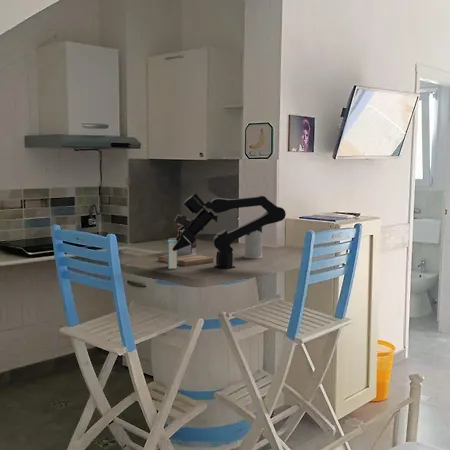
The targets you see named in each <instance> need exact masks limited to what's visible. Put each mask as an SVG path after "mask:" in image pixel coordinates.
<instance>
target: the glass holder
mask: <svg viewBox="0 0 450 450" xmlns="http://www.w3.org/2000/svg"><path fill="white" fill-rule="evenodd" d="M244 236H245V237H244V256H243V257H244V258H246V259H262V258H264V257H263V226H262V227H260V228H258V229H256V230H254V231H252V232H250V233H248V234H246V235H244Z"/></svg>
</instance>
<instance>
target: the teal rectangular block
mask: <svg viewBox="0 0 450 450" xmlns="http://www.w3.org/2000/svg"><path fill="white" fill-rule="evenodd" d="M176 243H177V240H167V254H168V263H167V269H168V270H178V265H177V250H176V251H173V250H172V249H173V247H174V246H175V245H176Z"/></svg>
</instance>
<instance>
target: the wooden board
mask: <svg viewBox="0 0 450 450" xmlns="http://www.w3.org/2000/svg"><path fill="white" fill-rule="evenodd" d="M158 260H159V262H162V261H165V262H164V263H167V262H168V257H166V256H163V255H158V256H157V261H158ZM210 263H211V264H212V263H214V257H211V256H205V255H200V254H197V253H196V254H191V255H185V256H177V264H178V265H177V266H183V267H190V266H196V265H203V264H210Z"/></svg>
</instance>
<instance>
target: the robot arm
mask: <svg viewBox="0 0 450 450" xmlns="http://www.w3.org/2000/svg"><path fill="white" fill-rule="evenodd" d="M182 205H183V206H184V207H185V208H186V209H187V210H188V211H189V212H190V214H197V215H196V216H195V217H194V218H191V219H188V218H187V216H186V215H183V214H182V215H181V214H178V213H177V215H176V216H175V219H174V223H176V224H177V223H179V224H181V225H182V226H181V227H180V228H179V229H180V230H181V231H180V230H179V235H178V237H177V236H176V237H175V238H176V240H177V243H176V245H175V246H174V247H173V249H172V250H173V251H176V250H178V249H181V248H183V247H186V246H189V245H191V243H192V244H193V243H194V242H195V241H196V242H197V238H196V235H197V236H198V235H199V233H200V232H203V231H204V229H205V227H206V226H208V225H209V224H210V223H211V222H212V221H215V223H217V222H218V217H219V216H218V214H219V213H224V212H227V211H230V210H233V209H241V208H249V207H250V208H251V207H258V206H259V207H262V208H263V210H265V212H264V213H263V214H262V215H260V216H259V217H257V218H255V219H253V220H250V221H249V222H247V223H245V224H243V225H241V226H239V227H237V228H234V229H232V230H229V231H228V230H227V229H223V230H222V231H220V232H216V235H214V236H213V237H212V244H213V246H214V247H215V249H217V250H218V251H216V256H215V257H216V258H215V265H213V267H214V268H219V269H225V270H226V269H232V268H236V265H233V263H234V260H233V259H234V257H233V256H234V254H233V251H234V248H233V247H232V246H231V245H232V244H233V243H234V242H235V241H237V240H238V239H240V238H242V237H244V236H245V235H246V234H248V233H250V232H252V231H254V230H256V229H258V228H260V227H262V228H263V227H265V226H266V225H270V224H271V225H272V224H275V223H278V222H281V221H283V220H284V219H286V215H287V212H286V210H285V209H284V208H282V207H280V206H278V205H276V204H274V203H273V202H272V201H270V200H269V199H268V198H267V197H266V196H264V195H259V196H249V197H243V198H241V197H239V198H232V199H231V198H221V197H220V198H219V197H215V198H212V199H211V200H210V201H203V200H202V198H200V197H199V195H198V194H197V193H196V192H195V193H193V194H192V195H191V196H189V197H188V198H186V200H185V201H184V202H183V203H182ZM204 206H205V207H204ZM207 209H208V210H207ZM209 209H210V210H209ZM214 213H215V214H214ZM190 242H191V243H190Z"/></svg>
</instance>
